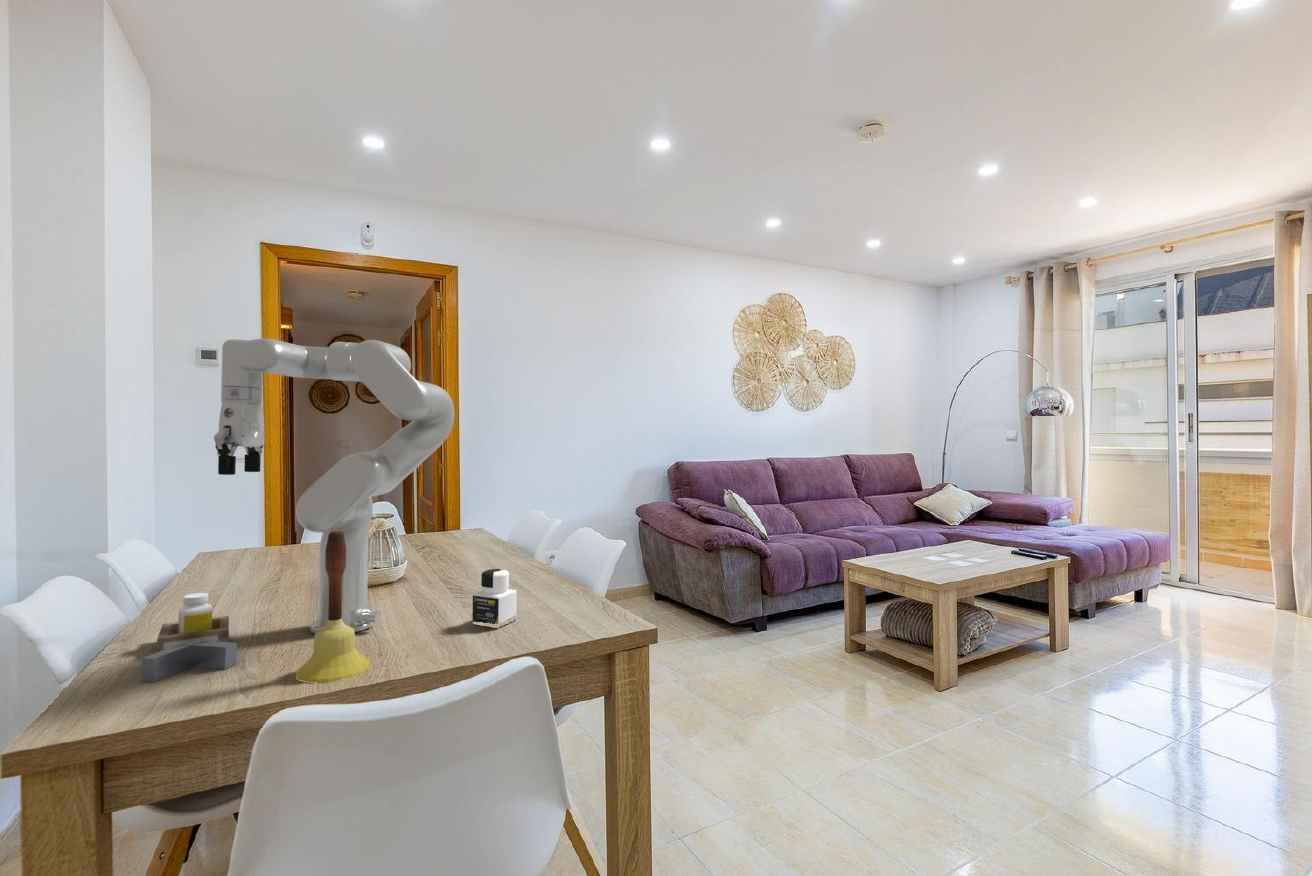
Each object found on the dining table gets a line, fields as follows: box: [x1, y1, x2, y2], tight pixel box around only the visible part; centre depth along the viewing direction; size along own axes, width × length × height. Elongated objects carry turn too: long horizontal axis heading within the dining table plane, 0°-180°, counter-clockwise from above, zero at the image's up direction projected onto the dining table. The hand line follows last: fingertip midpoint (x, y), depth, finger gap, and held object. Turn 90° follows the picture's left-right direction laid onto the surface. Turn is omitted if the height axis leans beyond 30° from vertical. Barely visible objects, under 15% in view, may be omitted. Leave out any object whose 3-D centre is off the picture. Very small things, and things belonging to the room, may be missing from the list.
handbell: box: [294, 531, 371, 684], centre depth 110 cm, size 12×12×25 cm
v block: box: [141, 635, 238, 683], centre depth 110 cm, size 9×13×4 cm
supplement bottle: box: [177, 592, 213, 634], centre depth 122 cm, size 5×5×10 cm
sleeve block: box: [156, 615, 230, 653], centre depth 122 cm, size 11×11×4 cm
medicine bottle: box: [471, 568, 518, 624], centre depth 139 cm, size 7×7×12 cm
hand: (240, 473), depth 135 cm, fingers open, 9 cm apart
